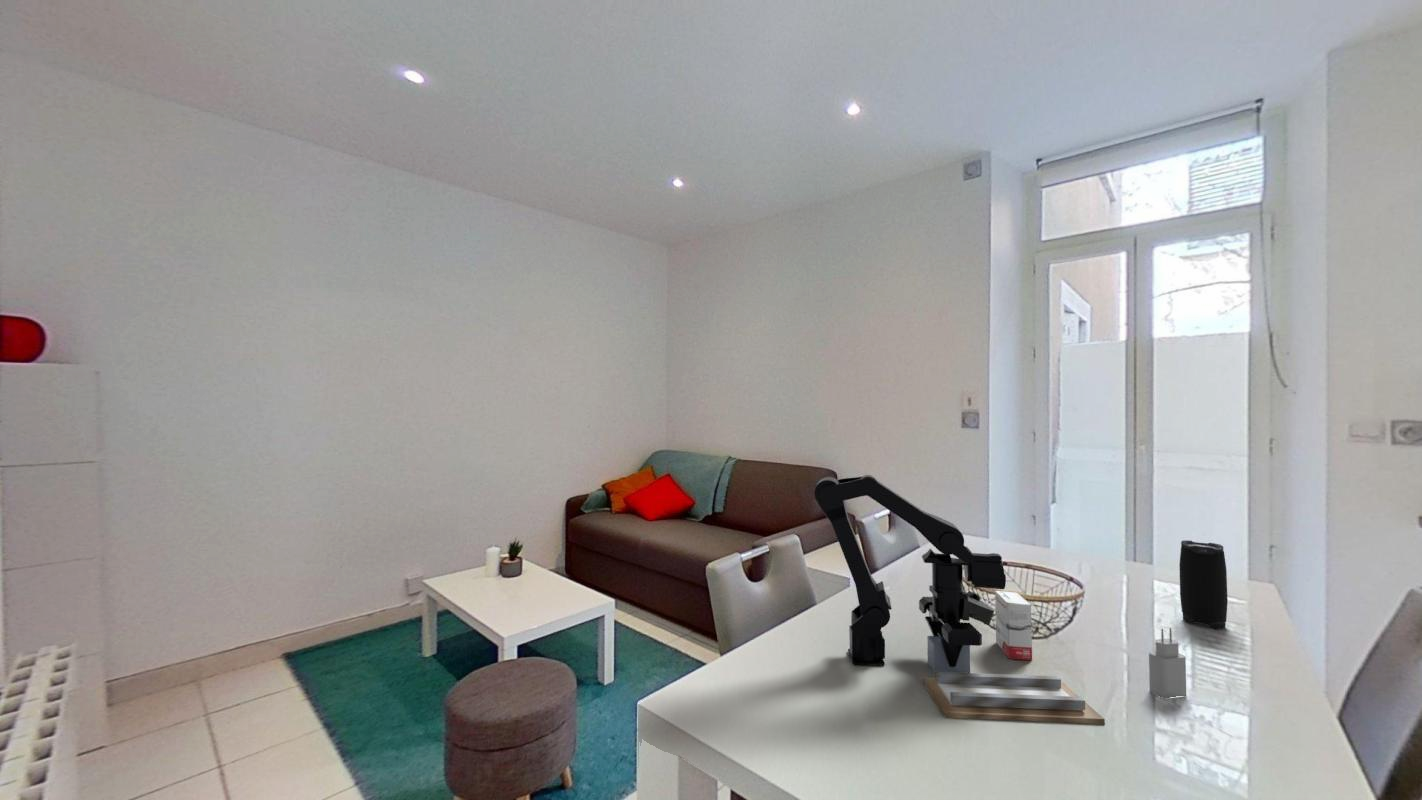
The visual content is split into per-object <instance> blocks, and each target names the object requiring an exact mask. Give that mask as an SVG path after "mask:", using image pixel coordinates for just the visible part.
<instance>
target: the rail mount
mask: <svg viewBox="0 0 1422 800" xmlns="http://www.w3.org/2000/svg"><path fill="white" fill-rule="evenodd" d="M935 674H936V675H935V677H922V683H923V684H924V687H925V688H926V690H927V691H928V692H929V694H930V696H931V698H932V699H933V700H934V702H935V704H936V705H937V706H938V708H939V710H940V712H941V713H942V715H943V717H944V718H953V719H981V720H983V719H984V720H1002V721H1003V720H1004V721H1005V720H1006V721H1027V722H1028V721H1031V722H1047V723H1048V722H1052V723H1055V722H1056V723H1073V724H1074V723H1076V724H1077V723H1080V724H1099V725H1102V724H1103V725H1105V722H1106V721H1105V718H1104V717H1103V716H1102V715H1101V714H1100V713H1099V712H1097V711H1096V710H1095V709H1094V708H1093V707H1092V706H1091V705H1089V704H1088V703H1087V702H1086V700H1085V699H1084V698H1083V697H1082V696H1079V695H1078V694H1077V693H1076V692H1074V691H1073V690H1072V689H1071V688H1070V687H1069V686H1068V685H1066V683H1064V682H1062V679H1061V678H1060V677H1059V676H1057V675H1035V674H1034V675H1029V674H1028V675H1027V674H1003V673H1002V674H1000V673H978V672H977V673H975V672H970V673H954V672H935Z"/></svg>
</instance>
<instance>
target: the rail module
mask: <svg viewBox="0 0 1422 800" xmlns="http://www.w3.org/2000/svg"><path fill="white" fill-rule="evenodd" d="M926 637H927V664H928V665H929V667H930V668H931V669H932V671H933V672H934V673H936V672H949V673H971V645H963V647H962V649H961V652H960V655H959V658H958V661H957V664H956V666H955V667H950V666H949V663H948V661H947V658H946V655H945V653H944V650H943V647H942V644H941V641H940V639H939V636H933V635H927V636H926Z"/></svg>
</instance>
